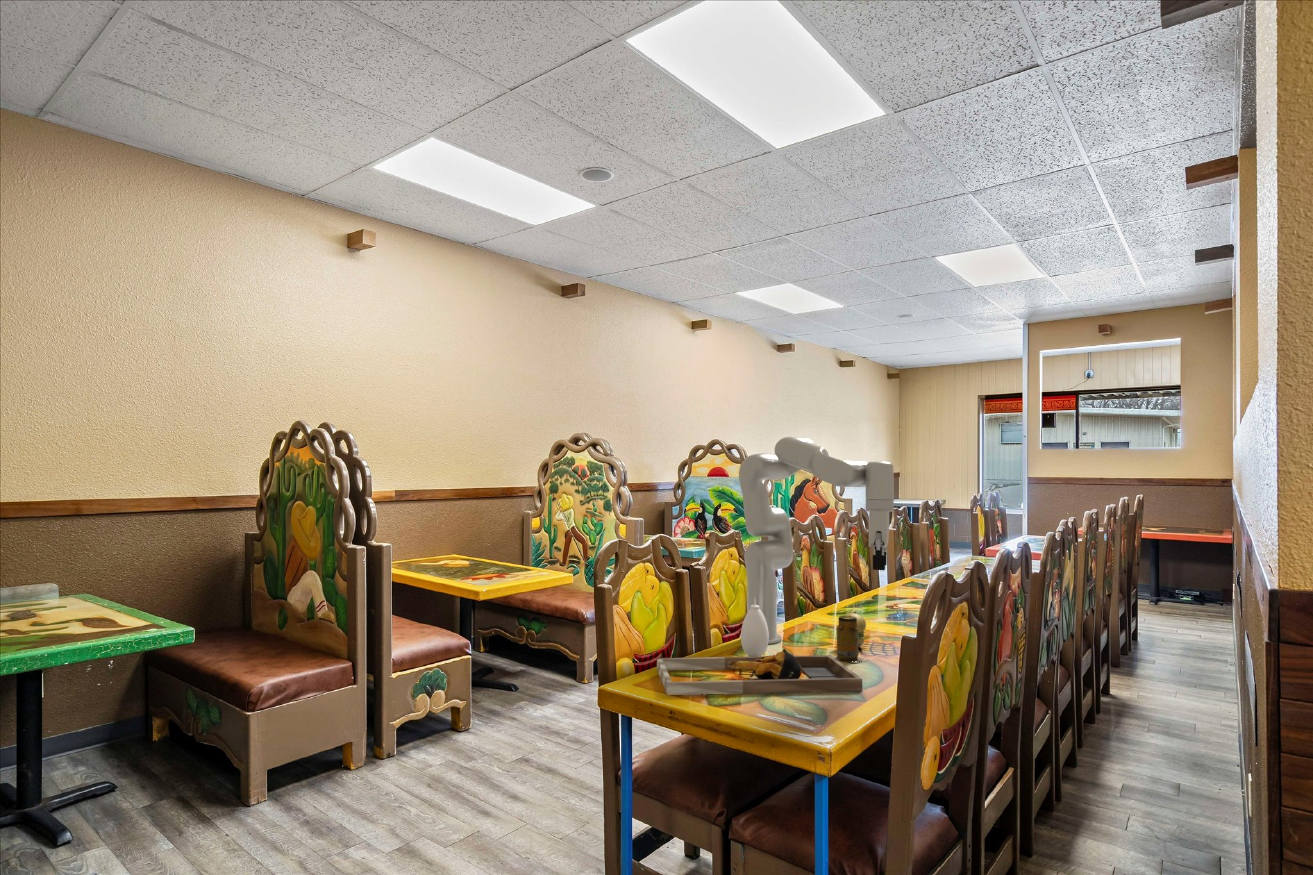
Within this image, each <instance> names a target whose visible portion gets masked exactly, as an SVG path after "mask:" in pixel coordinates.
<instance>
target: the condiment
mask: <svg viewBox="0 0 1313 875" xmlns="http://www.w3.org/2000/svg"><path fill="white" fill-rule="evenodd" d="M837 623H838V625H837V627H836V655H834V656H833V655H832V657H834V658H835V659H836V660H838V661H844V662H848V663H852V664H858V663H863V662H867V661H869V658H865V657H861V656H859V646H858V627H857V618H855V617H852V616H844V615H840V616H839V617H838V622H837ZM852 661H853V662H852ZM855 661H857V662H855ZM859 661H860V662H859ZM861 661H862V662H861Z"/></svg>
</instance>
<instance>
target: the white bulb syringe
mask: <svg viewBox="0 0 1313 875" xmlns="http://www.w3.org/2000/svg"><path fill="white" fill-rule="evenodd" d="M750 608H751V609H750V610H749V611H748V612H747V611H746V614H745V616H744V619H743V622H742V626H741V630H740V631H741V632H740V641H741V648H742V650H743V652H744V653H745V655H746V656H747V657H760V656H764V655H765V654H766V651H767V648H768V645H769V644H768V640H769V633H768V626H767V623H766V620H765V617H764V615H763V613H762V611H761V610H760V609H759V608H760V607H759V606H758V605H756V597H755V599H754V605H751V607H750Z"/></svg>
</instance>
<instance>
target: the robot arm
mask: <svg viewBox="0 0 1313 875" xmlns="http://www.w3.org/2000/svg"><path fill="white" fill-rule="evenodd" d="M773 452H774V453H754V454H750V455H749V456H747V457H745V459H744V460H743V461H742V462H741V464H740V466H739V470H738V482H739V486H740V490H741V494H742V503H743V512H744V522H745V529H746V531H747V533H748V534H749V535H750V536H752V537H756V538H759V537H760V538H761V537H762V538H764V537H767V539H768V540H760V541H759V540H758V541H755V542H752V543H750V544H749V545H748V546H747V547H746V548H745V551H744V554H743V556H744V557H743V558H744V559H743V560H744V563H745V564H744V565H745V570H746V594H747V595H746V613H747V612H748V611H749V610H750V609H751V608H750V607H751V605H754V599H755V597H756V605H758V606H759V607H760V608H759V609H760V610H761V611H762V613H763V615H764V617H765V620H766V623H767V626H768V633H769V640H768V645H770V644H772V645H773V644H777V643H780V642H782V635H780V634H779V633H777V629H778V626H777V624H778V623H777V621H778V620H777V618H778V617H777V616H778V613H777V612H778V611H777V610H778V608H777V607H778V605H777V604H778V603H777V602H778V586H777V585H778V584H777V580H776V576H775V575H774V573H773V570H774V571H775V570H782V569H786V568H788V567H789V566H790V565H791V564H792V562H793V560H794V544H793V536H792V535H793V534H792V527H791V522H790V518H789V516H788V514H787V513H786V511H785V510H784V509H782V508H781V507H777V506H771V503H770V496H769V492H768V489H767V488H766V486H765V484H764V483H763V481H765V480H767V481H768V480H770V481H771V480H772V481H773V480H774V481H775V480H777V481H778V480H784V479H787V478H789V477H791V476H793V475H794V474H797V473H798V472H799V471H801V470H803V471H805V472H807V473H810V474H811V475H812V476H814V477H815V478H816V479H817V480H820V481H822V482H824V483H828V484H831V485H833V486H835V487H840V488H863V487H864V488H865V511H866V512H869V514H868V547H870V548H872V547H873V550H872V551H873V554H872V570H873V571H885V570H886V566H887V563H888V562H887V557H888V556H887V554H888V553H887V552H888V551H887V550H886V549H887V547H888V545H889V544H888V543H889V536H890V513H892V512H894V511H895V510H894V506H895V505H894V504H895V503H894V502H895V500H894V498H895V496H894V489H895V485H894V479H895V478H894V477H895V474H894V473H895V472H894V470H895V469H894V464H892V462H889V461H866V460H843V459H839V458H835V457H832V456H829V455H828V452H827V449H826V448H824V447H822V446H821V445H820V446H819V445H817V444H816V443H815V442H814V441H813V440H811V439H810V438H807V437H798V436H786V437H782V438H781V439H779V440H778V441H777V442H776V443H775V445H774V451H773Z"/></svg>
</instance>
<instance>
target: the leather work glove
mask: <svg viewBox="0 0 1313 875" xmlns="http://www.w3.org/2000/svg"><path fill="white" fill-rule="evenodd" d="M763 656H764V655H763ZM794 656H795V655H793V654H792V653H790V652H789V651H787V649H786V648H783V649H782V650H781V651H778V652H776V654H770V655H765V656H764V657H761V658H759V659H756V662H748V661H731V662H729V663H728V666H729V667H732V668H736V669H735V670H751V671H753V674H754V676H755V677H756V678H757V680H776V679H801V676H802V670H801V667H802V666H801V665H799V663H798V662H797V660H796V658H795V657H794ZM738 668H739V669H738Z"/></svg>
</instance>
